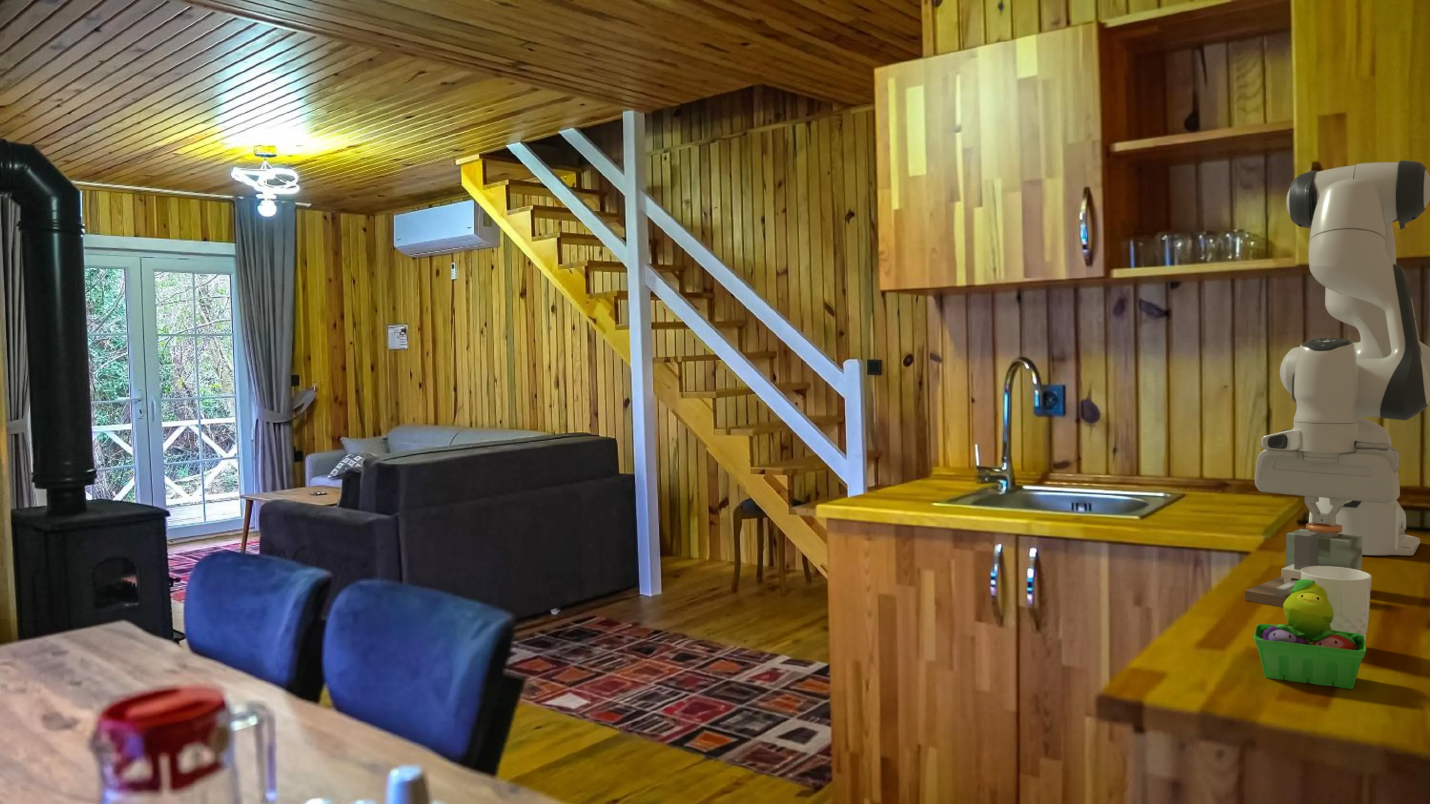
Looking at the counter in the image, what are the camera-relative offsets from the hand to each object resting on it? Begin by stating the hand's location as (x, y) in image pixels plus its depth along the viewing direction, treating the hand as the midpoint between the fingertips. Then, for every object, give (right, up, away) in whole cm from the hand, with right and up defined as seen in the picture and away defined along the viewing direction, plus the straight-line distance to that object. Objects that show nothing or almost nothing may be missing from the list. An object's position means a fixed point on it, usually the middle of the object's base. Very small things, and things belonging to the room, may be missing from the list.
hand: (1324, 525), depth 161 cm
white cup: (-17, -13, -30) cm, 37 cm away
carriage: (-5, -9, -4) cm, 11 cm away
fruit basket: (-27, -14, -41) cm, 50 cm away
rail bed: (-5, -11, -4) cm, 12 cm away
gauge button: (0, -4, 0) cm, 4 cm away
